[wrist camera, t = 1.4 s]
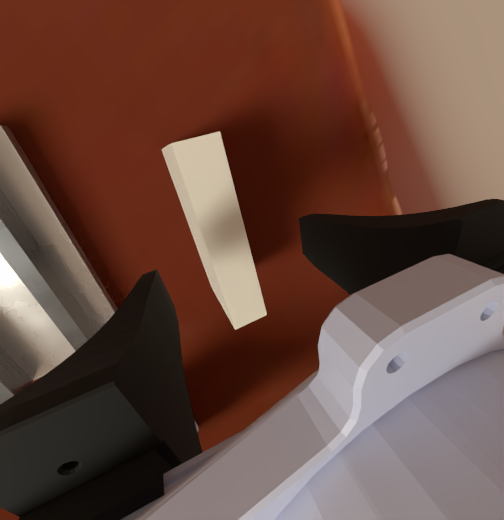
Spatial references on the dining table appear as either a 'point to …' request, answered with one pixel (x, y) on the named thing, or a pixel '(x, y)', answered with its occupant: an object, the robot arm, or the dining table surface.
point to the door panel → (216, 224)
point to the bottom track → (40, 278)
